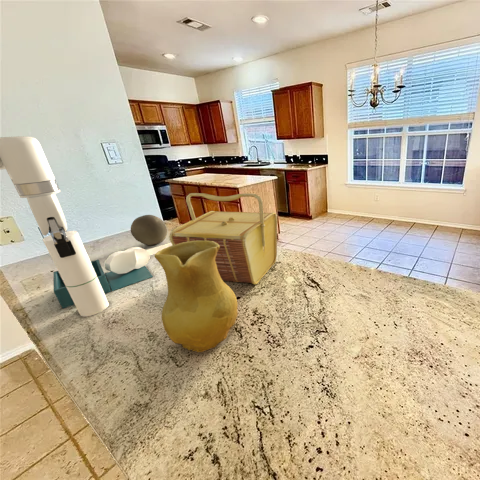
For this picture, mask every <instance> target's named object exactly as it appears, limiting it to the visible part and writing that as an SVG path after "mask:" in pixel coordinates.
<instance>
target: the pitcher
mask: <svg viewBox="0 0 480 480" xmlns="http://www.w3.org/2000/svg"><path fill="white" fill-rule="evenodd" d="M219 248H220V246H219V244H218V243H216V242H213V241H202V240H201V241H189V242H183V243H179V244H176V245H172V246H169V247H167V248H164V249H162V250H161V251H158V252H157V253H156V254H153V255H154V259H155V260H156V261H157V262H158V263H159V265H160V266H161V267H162V269H163V271H164V274H165V278H166V285H167V296H166V299H165V301H164V304H163V306H162V310H161V322H162V326H163V330H164V331H165V333H166V335H167V336H168V338H169V339H170V340H171V342H173V343H174V344H177V345H180V344H181V346H182V347H183V349H186V350H187V351H191V350H192V352H196V353H203V352H205V351H208V350H210V349H214V348H216V347H217V346H218V345H219V344H221V343H222V342H224V341H225V340H226V339H227V338H228V333H229V332H230V330H231V328H232V327H233V326H234V325H235V324H236V320H237V318H238V314H239V313H238V312H239V311H238V299H237V296H236V294H235V292H234V290H233V289H232V288H231V287H230V286H229V285H228V284H227V283H226V282H225V281H224V280H222V279H221V277H220V274H219V272H218V269H217V265H216V262H215V258H216V255H217V252H218V250H219Z"/></svg>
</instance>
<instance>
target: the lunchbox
mask: <svg viewBox="0 0 480 480" xmlns="http://www.w3.org/2000/svg"><path fill="white" fill-rule="evenodd" d="M90 262H91V264H92V266H93V268H94V271H95V273H96V275H97V278H98V280H99V282H100V284H101V287H102V289H103V291H104V294H105V295H106V294H109V293H111V292H115V291H117V290H121V289H122V288H126V287H128V286H129V287H130V286H131V285H134V284H138V283H140V282H143V281H146V280H149V279H152V278H153V277H154V276H153V274H152V273H151V272H150V270H149V269H148V268H147V266H146V265H145V266H143V267H141V268H139V269H133V270H131V271H129V272H128V273H123V274H117V273H114V272H111V271H108V272H106V273H105V271H104V269H103V267H102V264H101V262H100V260H99V259H95V260H90ZM52 275H53V293H54V295H55V297H56V299H57V301H58V302H59V306H61V309H67V308H68V307H71V306H75V304H74V302H73V300H72V298H71V296H70V294H69V292H68V290H67V288H66V286H65V284H64V282H63V280H62V278H61V276H60V274H59V272H58V270H55V271H53V274H52Z"/></svg>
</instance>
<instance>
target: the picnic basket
mask: <svg viewBox="0 0 480 480" xmlns="http://www.w3.org/2000/svg"><path fill="white" fill-rule="evenodd" d="M192 197H202V198H205V199H206V200H210V201H214V202H232V201H237V200H239V199H240V198H242V197H243V198H244V197H245V198H246V197H252V198H255V199H257V202H258V212H252V211H216V210H215V211H214V210H210V211H208V212H206V213H203V214H201V215H200V216H197V217H196V215H195V211H194V208H193V205H192V202H191V198H192ZM185 198H186V199H185V202H186V204H187V209H188V211H189V214H190V217H191V220H189V221H187V222H185V223H183V224H181V225H179V226H177V227H174V228H173V229H172V230H171V231H170V233H169V238H168V239H169V241H170V243H172V245H176V244H179V243H183V242H189V241H201V240H202V241H213V242H216V243H218V244H219V246H220V248H219V250H218V252H217V255H216V258H215V262H216V265H217V269H218V272H219V274H220V277H221V279H222V280H223V281H224V282H235V283H236V282H237V283H247V284H252V285H254V286H255V285H258V284H259V282H260V281H261V280H262V279H263V277H264V276H266V274H267V273H268V272H269V270H270V269H271V268H272V266H273V265H274V264H276V260H277V255H278V215H277V213H276V212H264V203H263V202H264V201H263V199H262V197H261V196H260V195H258V194H256V193H238V194H233V195H228V196H219V195H213V194H208V193H204V192H203V193H201V192H200V193H199V192H191V193H188V195H186V196H185Z"/></svg>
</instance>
